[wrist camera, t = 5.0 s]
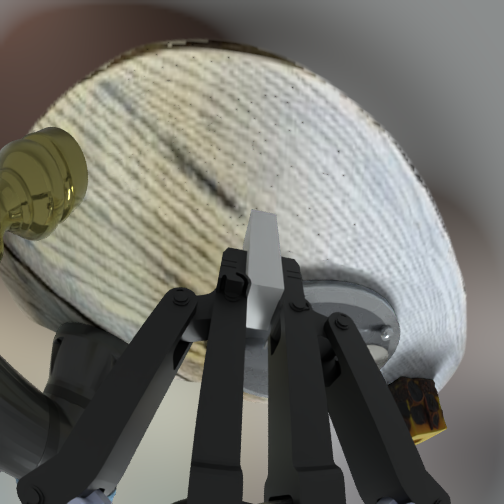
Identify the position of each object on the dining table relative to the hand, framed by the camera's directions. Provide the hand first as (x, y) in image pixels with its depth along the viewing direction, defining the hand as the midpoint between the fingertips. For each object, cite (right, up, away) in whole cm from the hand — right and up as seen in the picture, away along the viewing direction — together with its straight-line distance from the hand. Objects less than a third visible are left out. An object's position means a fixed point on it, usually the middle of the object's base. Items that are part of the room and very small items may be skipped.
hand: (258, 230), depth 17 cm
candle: (+23, -24, +19) cm, 38 cm away
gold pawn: (-16, +5, -1) cm, 16 cm away
